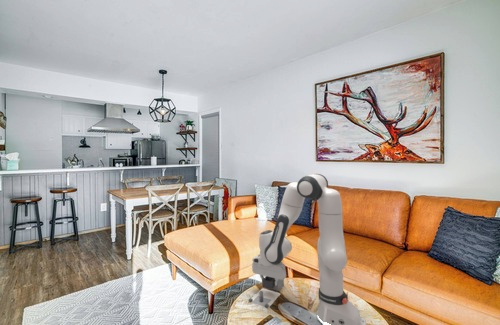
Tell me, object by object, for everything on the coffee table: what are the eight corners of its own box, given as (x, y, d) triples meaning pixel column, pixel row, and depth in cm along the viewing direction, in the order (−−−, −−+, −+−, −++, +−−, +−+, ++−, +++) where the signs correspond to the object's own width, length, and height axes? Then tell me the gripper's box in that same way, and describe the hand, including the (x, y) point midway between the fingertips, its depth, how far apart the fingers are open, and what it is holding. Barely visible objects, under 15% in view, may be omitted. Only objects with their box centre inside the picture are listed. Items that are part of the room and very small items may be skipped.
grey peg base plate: (281, 296, 144) (280, 285, 144) (267, 311, 131) (267, 299, 130) (262, 290, 151) (262, 279, 150) (248, 304, 137) (247, 292, 137)
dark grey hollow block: (276, 284, 144) (276, 277, 144) (271, 289, 139) (271, 282, 139) (267, 282, 147) (267, 275, 147) (262, 287, 142) (262, 280, 142)
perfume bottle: (278, 293, 147) (277, 263, 146) (268, 290, 151) (267, 260, 150) (283, 288, 152) (283, 259, 151) (274, 285, 156) (273, 256, 155)
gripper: (287, 260, 139) (288, 285, 140) (255, 254, 151) (257, 277, 151) (282, 265, 134) (283, 290, 135) (250, 258, 145) (251, 282, 146)
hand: (269, 283), depth 143 cm, fingers closed on dark grey hollow block, 6 cm apart
